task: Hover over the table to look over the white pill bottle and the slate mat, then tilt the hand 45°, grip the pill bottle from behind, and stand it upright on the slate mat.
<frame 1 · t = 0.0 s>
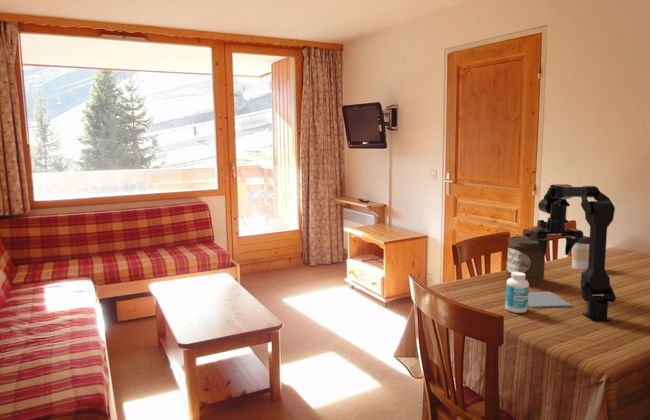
hand: (555, 255, 187), 15 cm above the table, tool pointing down, fingers open, 9 cm apart
pill bottle: (516, 310, 169), on the table
slate mat: (541, 300, 179), on the table
coffee cup: (580, 268, 222), on the table
labeled lidded canister: (524, 281, 203), on the table
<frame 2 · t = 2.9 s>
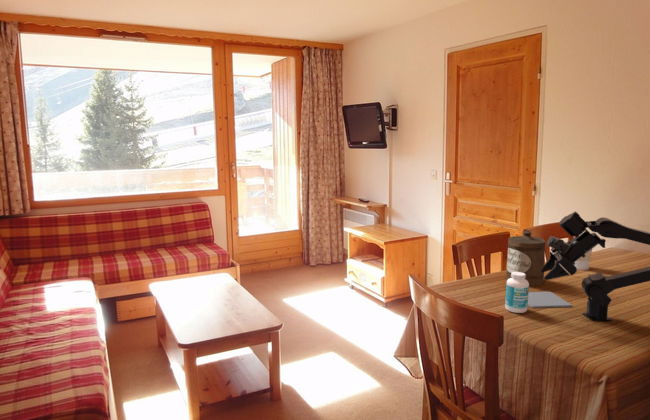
hand: (543, 275, 165), 14 cm above the table, tool tilted 45°, fingers open, 9 cm apart
nothing on the table moved.
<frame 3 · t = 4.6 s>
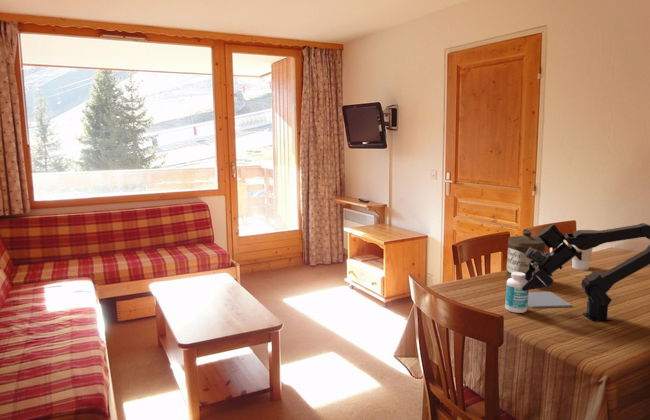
hand: (521, 285, 168), 9 cm above the table, tool tilted 45°, fingers open, 9 cm apart
nothing on the table moved.
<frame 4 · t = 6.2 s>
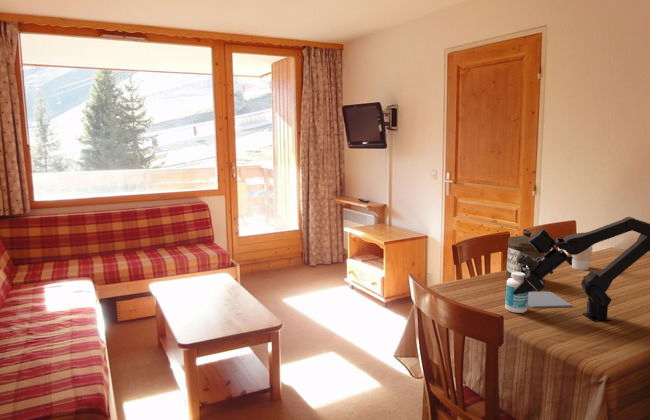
hand: (512, 290, 169), 7 cm above the table, tool tilted 45°, fingers closed on pill bottle, 7 cm apart
pill bottle: (516, 310, 169), on the table, touching gripper
everything else where it was.
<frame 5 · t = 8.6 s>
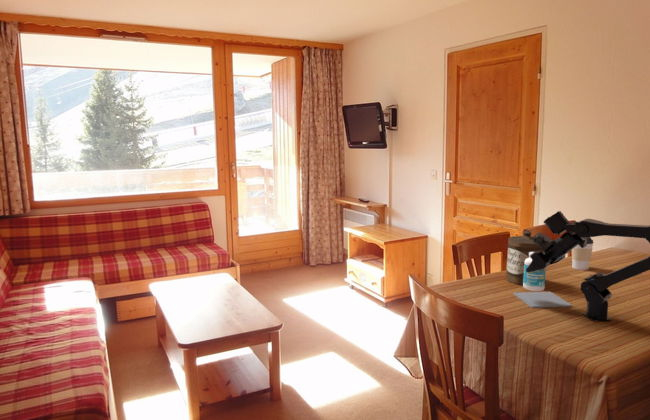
hand: (531, 269, 177), 12 cm above the table, tool tilted 45°, fingers closed on pill bottle, 7 cm apart
pill bottle: (533, 289, 177), point 5 cm above the table, touching gripper
everything else where it was.
when the fingers open (8 cm above the table, at t = 11.0 s): pill bottle stays where it is, resting on slate mat.
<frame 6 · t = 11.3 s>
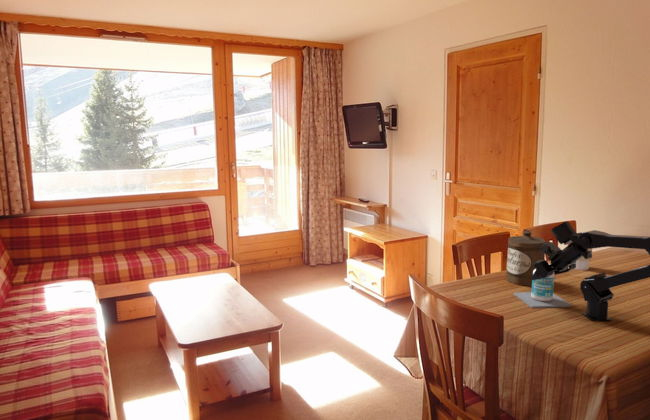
hand: (539, 277, 179), 9 cm above the table, tool tilted 45°, fingers open, 9 cm apart
pill bottle: (541, 299, 179), resting on slate mat
everything else where it was.
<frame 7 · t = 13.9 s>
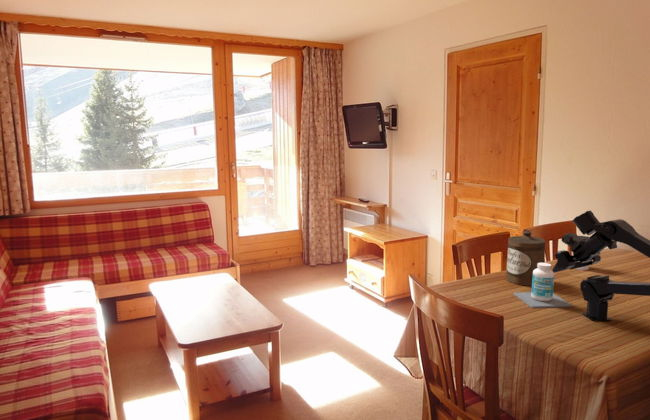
hand: (561, 269, 172), 13 cm above the table, tool tilted 45°, fingers open, 9 cm apart
nothing on the table moved.
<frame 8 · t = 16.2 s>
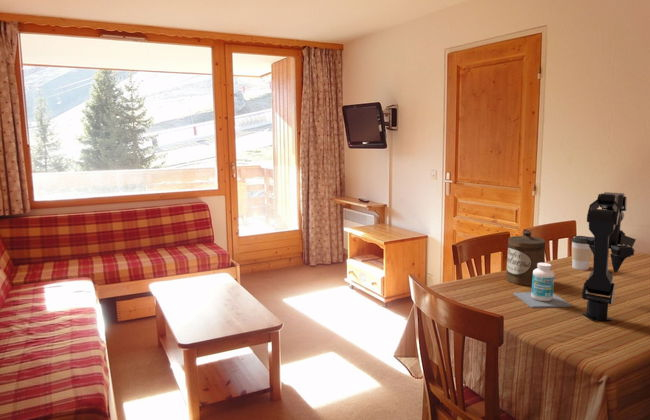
hand: (607, 268, 174), 13 cm above the table, tool pointing down, fingers open, 9 cm apart
nothing on the table moved.
at the end: pill bottle inside the target area on the slate mat (0.1 cm from its centre), point 0.4 cm above the slate mat's base; pill bottle tilted 0°; the gripper is holding nothing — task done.
